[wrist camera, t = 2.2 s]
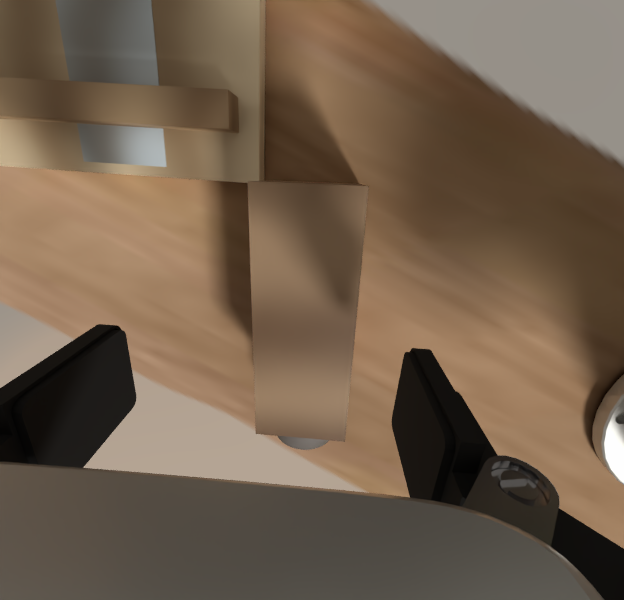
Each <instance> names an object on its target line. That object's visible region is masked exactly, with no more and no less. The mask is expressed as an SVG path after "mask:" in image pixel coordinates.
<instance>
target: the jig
mask: <svg viewBox="0 0 624 600" xmlns="http://www.w3.org/2000/svg"><path fill="white" fill-rule="evenodd" d="M265 30H266V0H0V166H9V167H23V168H38V169H52V170H67V171H81V172H96V173H110V174H125V175H139V176H154V177H168V178H183V179H197V180H212V181H226V182H241V183H248V181H264V145H265Z"/></svg>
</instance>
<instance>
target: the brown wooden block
mask: <svg viewBox="0 0 624 600" xmlns="http://www.w3.org/2000/svg"><path fill="white" fill-rule="evenodd" d="M368 190H369V186H366V185H362V184H350V183H325V182H300V181H248V212H249V242H250V273H251V303H252V333H253V364H254V394H255V425H256V434H264V435H275V436H278V438H279V439H280V440H281V441H282V442H283V443H285V444H286V445H288V446H290V447H292V448H296V449H302V450H308V449H315V448H318V447H320V446H322V445H324V444H326V443H327V442H328V441H329V440H332V441H343V442H345V435H346V424H347V414H348V403H349V392H350V382H351V371H352V360H353V350H354V339H355V328H356V318H357V307H358V296H359V286H360V275H361V265H362V254H363V243H364V233H365V222H366V211H367V201H368Z"/></svg>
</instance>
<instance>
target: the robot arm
mask: <svg viewBox="0 0 624 600" xmlns="http://www.w3.org/2000/svg"><path fill="white" fill-rule="evenodd" d="M135 402H136V392H135V386H134V380H133V374H132V368H131V362H130V356H129V350H128V345H127V339H126V334H125V332H124V331H123V330H121V328H120V327H119V326H115V325H102V324H99V325H96V326H95V327H93V328H92V329H90V330H89V331H87V332H86V333H84V334H83V335H81V336H80V337H78V338H76V339H75V340H73V341H72V342H70V343H69V344H67V345H66V346H64V347H63V348H61V349H60V350H58V351H57V352H55V353H54V354H52V355H50V356H49V357H48V358H46V359H44V360H43V361H41V362H40V363H38V364H37V365H35V366H34V367H32V368H31V369H29V370H28V371H26V372H24V373H23V374H21V375H20V376H18V377H17V378H15V379H14V380H12V381H11V382H9V383H8V384H6V385H5V386H3V387H2V388H0V600H624V549H623V548H621V547H620V546H618V545H617V544H615V543H613V542H612V541H610V540H609V539H607V538H605V537H604V536H602V535H601V534H599V533H597V532H596V531H594V530H593V529H591V528H590V527H588V526H586V525H585V524H583V523H582V522H580V521H578V520H577V519H575V518H574V517H572V516H570V515H569V514H567V513H566V512H564V511H562V510H561V509H559V495H558V493H557V491H556V489H555V487H554V486H553V485H552V483H551V482H550V481H549V480H548V478H547V477H545V476H544V475H543V474H542V473H541V472H540V471H538V470H537V469H536V468H534V467H532V466H531V465H529V464H528V463H526V462H523V461H521V460H519V459H517V458H513V457H509V456H498V455H497V454H496V452H495V450H494V449H493V447H492V446H491V444H490V442H489V441H488V439H487V437H486V436H485V434H484V432H483V431H482V429H481V427H480V426H479V424H478V422H477V421H476V419H475V418H474V416H473V414H472V413H471V411H470V409H469V408H468V406H467V404H466V403H465V401H464V399H463V398H462V396H461V395H460V394H459V393H458V392H456V391H455V390H454V389H453V387H452V385H451V384H450V382H449V380H448V378H447V377H446V375H445V373H444V372H443V370H442V368H441V367H440V365H439V363H438V362H437V360H436V358H435V356H434V355H433V353H432V351H431V350H429V349H416V348H412V349H411V351H410V352H406V353H405V354H404V358H403V364H402V369H401V374H400V379H399V384H398V389H397V395H396V400H395V405H394V410H393V415H392V428H393V432H394V436H395V440H396V444H397V448H398V452H399V456H400V460H401V464H402V467H403V471H404V475H405V479H406V483H407V487H408V491H409V495H410V498H409V497H401V496H393V495H386V494H375V493H364V492H354V491H345V490H334V489H323V488H312V487H301V486H290V485H279V484H268V483H257V482H246V481H235V480H223V479H222V480H221V479H211V478H200V477H199V478H198V477H188V476H176V475H164V474H152V473H140V472H128V471H116V470H103V469H90V468H83V467H84V466H85V465H86V463H87V462H88V461H89V460H90V459H91V457H92V456H93V455H94V454H95V453H96V451H97V450H98V449H99V448H100V447H101V445H102V444H103V443H104V442H105V441H106V439H107V438H108V437H109V436H110V434H111V433H112V432H113V431H114V430H115V429H116V427H117V426H118V425H119V424H120V423H121V421H122V420H123V419H124V418H125V417H126V415H127V414H128V413H129V412H130V411H131V409H132V408H133V407H134V405H135ZM592 440H593V444H594V448H595V452H596V454H597V456H598V457H599V459H600V461H601V462H602V464H603V465H604V466H605V467H606V468H607V469H608V470H609V471H610V473H611V474H612V475H613V476H614V477H615V478H616V479H617V480H618V481H619V482H621V483H622V484H623V485H624V375H622V376H621V377H620V378H619V379H618V380H617V381H616V382H615V384H614V385H613V386H612V387H611V389H610V390H609V391H608V392H607V394H606V395H605V397H604V399H603V400H602V402H601V404H600V406H599V408H598V410H597V412H596V416H595V420H594V423H593V436H592Z"/></svg>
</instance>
